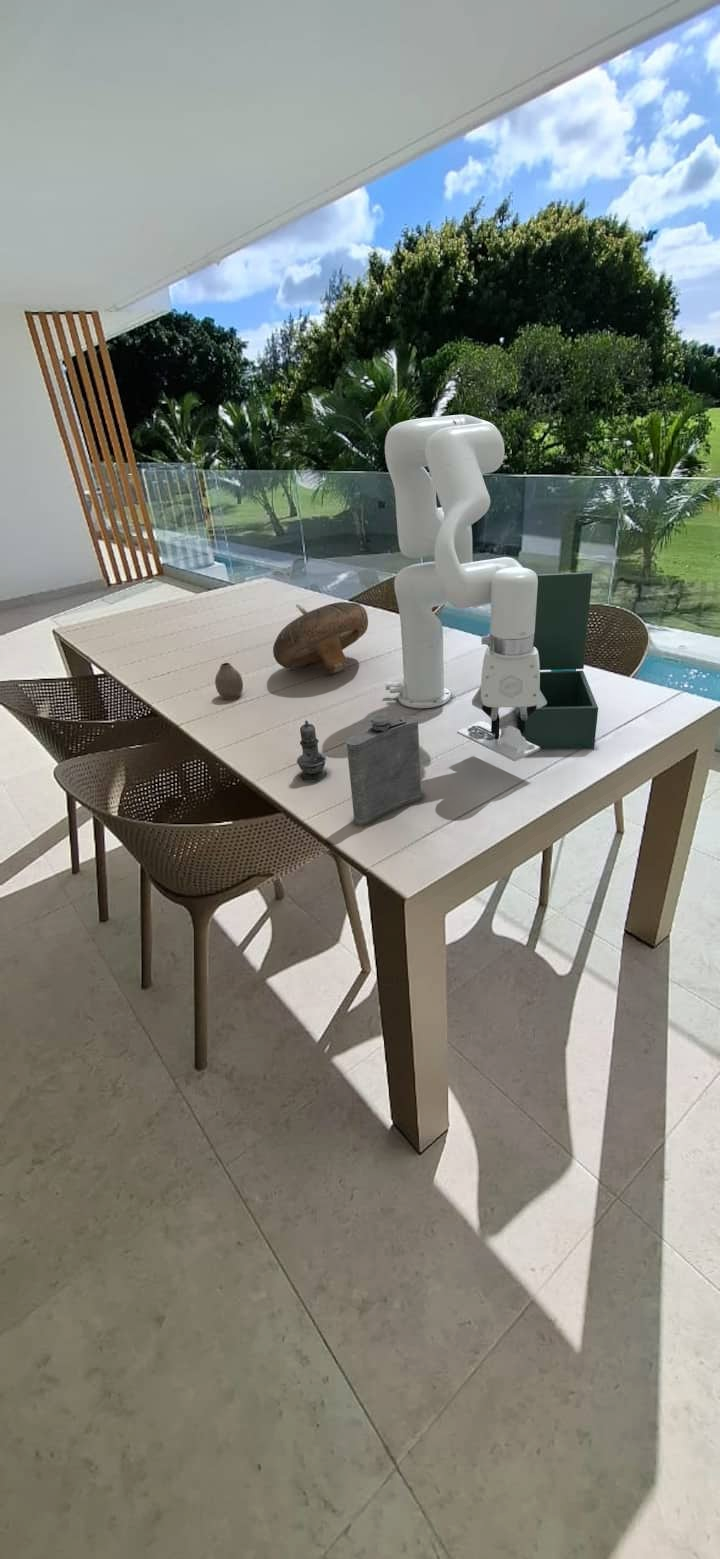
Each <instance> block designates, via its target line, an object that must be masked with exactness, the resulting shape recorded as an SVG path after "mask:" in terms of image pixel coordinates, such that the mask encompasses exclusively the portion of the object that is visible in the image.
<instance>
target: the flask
mask: <svg viewBox="0 0 720 1559" xmlns="http://www.w3.org/2000/svg"><path fill="white" fill-rule="evenodd" d="M390 718H391V716H390V715H389V714H388V713H385V712H384V713H383V712H382V713H375V714H373V715H371V716H370V719H369V720H370V723H371V727H370V728H368V729H365V730H363V731H361V732H358V733H357V734H354V735H353V736H350V737H349V738H348V739H346V740H345V742H346V752H347V763H348V772H349V779H350V780H349V781H350V791H351V801H352V810H353V821H354V824H356V825H358V826H366V825H368V824H370V823H371V822H373V821H374V820H376V819H377V818H379V817H381V816H383V815H385V814H387V813H389V812H391V811H394V810H395V809H398V808H401V807H402V806H406V805H408V804H411V803H415V802H418V801H420V800H421V799H422V785H421V784H422V782H421V761H420V760H421V758H420V757H421V756H420V737H419V736H420V735H419V718H418V717H416V716H413V715H407V716H404V717H403V716H402V717H400V718H396V719H390Z"/></svg>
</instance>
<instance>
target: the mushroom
mask: <svg viewBox="0 0 720 1559" xmlns="http://www.w3.org/2000/svg"><path fill="white" fill-rule="evenodd" d="M295 607H296V609H297V610H298V611H300V613H301V614H302V615H300V616H299V617H297V618H295V619H294V620H292V621H291V622H289V623H288V624H287V625H286V626H285V627H284V628H282V629H281V630H280V632H279V633H278V635H277V637H276V639H275V641H274V644H273V646H272V654H273V658H274V659H275V661H276V663H277V664H279V665H280V666H281V667H283V668H284V669H296V668H300V667H303V666H307V665H309V664H312V663H317V662H319V661H322V663H323V666H324V667H325V669H326V670H327V672H328V674H329V675H335V674H337V673H340V672H343V670H345V669H346V668H347V667H348V666H349V662H348V660H347V657H346V655H345V654H344V651H343V650H345V649H347V648H348V647H349V646H351V645H353V644H355V643H356V642H357V641H358V640H359V639H360V638H361V637H363V636H364V634H366V632H367V630H368V627H369V618H368V613H367V610H366V608H365V607H364V606H363V605H361V604H360V603H356V602H348V601H339V602H333V603H330V604H326V605H323V606H320V607H317V608H315V609H312V610H310V611H307V610H306V609H305V607H303V606H302V604H300V603H296V604H295Z"/></svg>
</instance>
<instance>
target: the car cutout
mask: <svg viewBox="0 0 720 1559" xmlns="http://www.w3.org/2000/svg"><path fill="white" fill-rule="evenodd" d="M456 734H458V735H460V736H462V737H464V738H465V739H467V740H470V741H472V742H473V743H476V744H478V745H480V746H482V747H484V748H486V749H488V750H490V751H492V752H494V753H496V754H498V755H501V756H502V757H503V758H504V757H505V758H507V759H508V760H511V761H512V762H517V761H520V760H521V759H523V758H525V757H527V756H529V755H531V754H533V753H536V752H537V751H539V750H541V749H540V747H539V746H537V745H535V744H532V743H530V742H528V741H526V739H525V737H523V736H522V735H521V732H520V730H519V729H517V728H516V726H513V725H511V724H509V725H507V726H506V727H501V728H499V739H498V740H495V733H491V723H490V722H489V723H488V722H486V721H484V720H479V721H477V722H474V723H473V724H470V725H468V726H466V727H463V728H461V729H459V730H457V731H456Z"/></svg>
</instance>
